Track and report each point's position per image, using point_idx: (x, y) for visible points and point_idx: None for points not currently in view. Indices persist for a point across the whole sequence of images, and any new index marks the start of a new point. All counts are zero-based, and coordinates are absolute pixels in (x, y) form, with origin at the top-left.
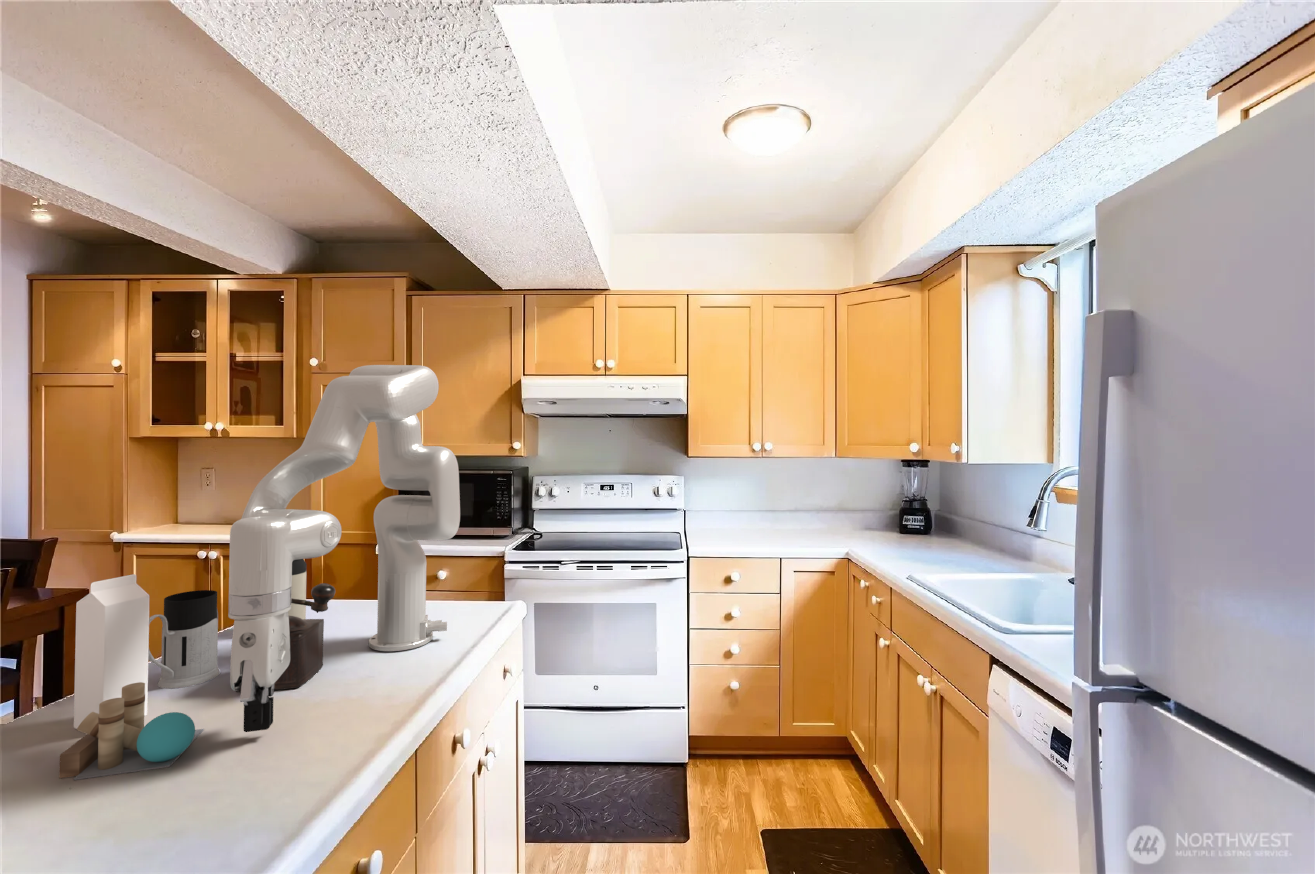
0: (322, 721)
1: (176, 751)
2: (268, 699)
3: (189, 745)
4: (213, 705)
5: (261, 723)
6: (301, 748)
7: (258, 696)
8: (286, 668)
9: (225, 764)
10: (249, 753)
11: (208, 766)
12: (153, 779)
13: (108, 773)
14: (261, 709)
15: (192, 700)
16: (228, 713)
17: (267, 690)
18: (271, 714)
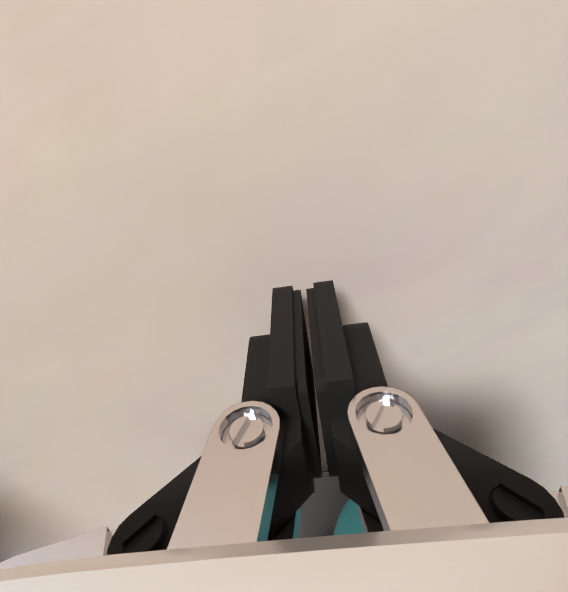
0: (139, 36)
1: None
2: (297, 400)
3: (322, 472)
4: (45, 525)
5: (362, 323)
6: (485, 18)
7: (527, 484)
8: (73, 569)
9: (508, 320)
10: (443, 274)
11: (498, 366)
12: (518, 461)
13: None
14: (385, 380)
15: None
16: (94, 472)
17: (392, 472)
18: (292, 316)
